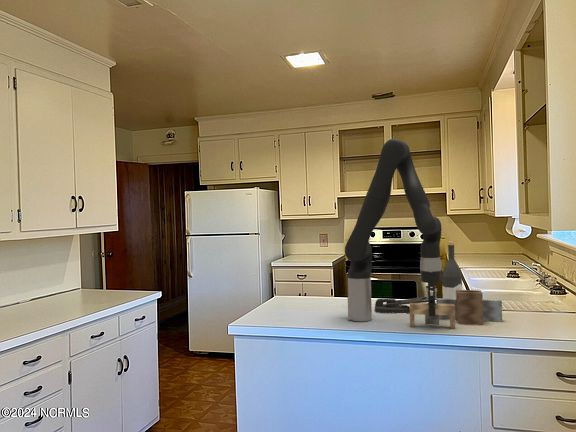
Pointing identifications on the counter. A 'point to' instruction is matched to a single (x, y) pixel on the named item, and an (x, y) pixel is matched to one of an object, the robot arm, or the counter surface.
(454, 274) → the wine bottle
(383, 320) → the counter surface
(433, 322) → the wooden bridge block
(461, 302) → the grey brown blocky piece
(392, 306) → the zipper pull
